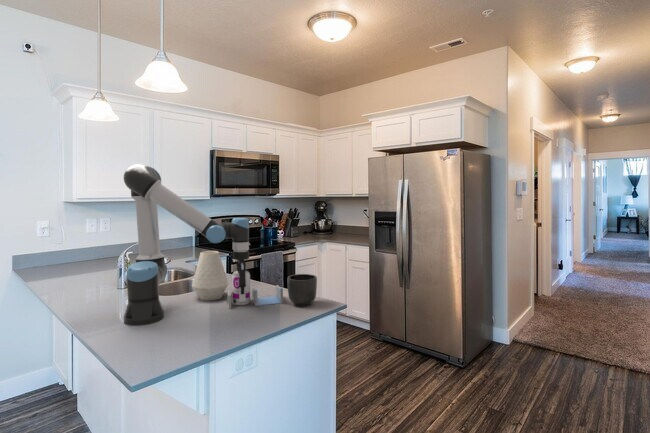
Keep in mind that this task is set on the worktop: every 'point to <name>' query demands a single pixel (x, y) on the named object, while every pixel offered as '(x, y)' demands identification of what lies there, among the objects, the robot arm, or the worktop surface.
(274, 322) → the worktop surface
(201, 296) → the vase
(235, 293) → the supplement can
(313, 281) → the planter
